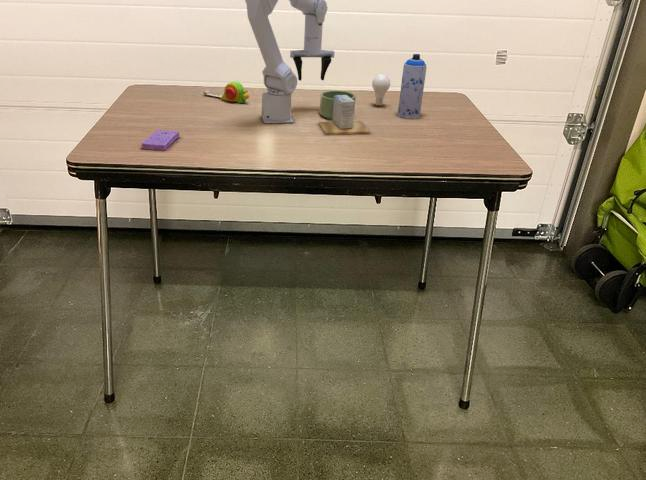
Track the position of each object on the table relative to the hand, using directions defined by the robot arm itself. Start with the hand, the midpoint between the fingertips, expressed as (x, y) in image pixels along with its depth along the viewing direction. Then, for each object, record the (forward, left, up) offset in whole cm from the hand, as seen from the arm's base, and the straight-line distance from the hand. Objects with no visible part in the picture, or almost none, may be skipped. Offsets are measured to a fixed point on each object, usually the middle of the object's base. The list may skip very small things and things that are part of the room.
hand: (311, 79), depth 205 cm
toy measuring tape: (-28, +15, -10) cm, 33 cm away
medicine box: (+7, -20, -10) cm, 23 cm away
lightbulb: (+26, +4, -11) cm, 28 cm away
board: (+7, -21, -10) cm, 24 cm away
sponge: (-50, -30, -11) cm, 59 cm away
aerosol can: (+33, -8, -11) cm, 36 cm away
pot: (+8, -7, -10) cm, 15 cm away
